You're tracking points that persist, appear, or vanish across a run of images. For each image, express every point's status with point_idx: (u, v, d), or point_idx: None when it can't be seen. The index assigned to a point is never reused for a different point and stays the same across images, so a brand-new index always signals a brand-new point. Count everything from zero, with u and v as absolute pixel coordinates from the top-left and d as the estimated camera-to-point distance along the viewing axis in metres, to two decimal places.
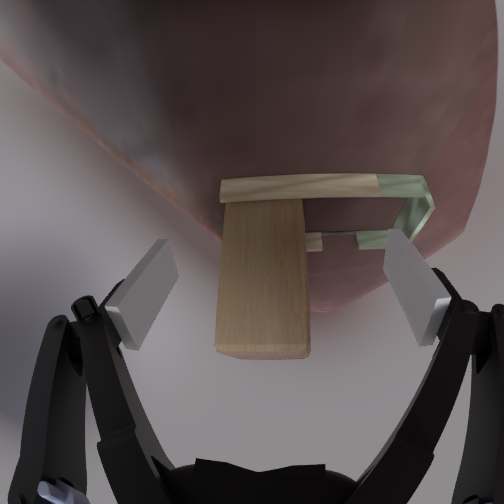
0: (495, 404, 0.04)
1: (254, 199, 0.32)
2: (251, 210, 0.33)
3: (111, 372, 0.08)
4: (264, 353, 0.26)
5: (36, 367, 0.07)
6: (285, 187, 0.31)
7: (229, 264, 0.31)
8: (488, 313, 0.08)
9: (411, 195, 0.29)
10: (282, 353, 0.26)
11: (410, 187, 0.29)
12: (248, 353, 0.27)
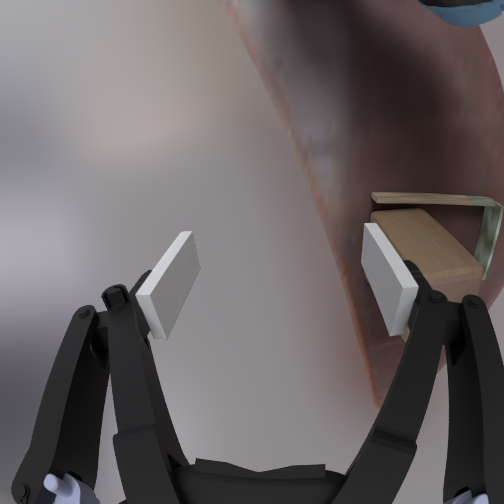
0: (476, 396, 0.05)
1: (401, 201, 0.36)
2: (396, 214, 0.37)
3: (137, 364, 0.08)
4: (458, 278, 0.23)
5: (57, 357, 0.08)
6: (418, 196, 0.37)
7: (399, 235, 0.32)
8: (458, 304, 0.09)
9: (488, 204, 0.34)
10: (470, 276, 0.23)
11: (485, 200, 0.34)
12: (446, 280, 0.23)
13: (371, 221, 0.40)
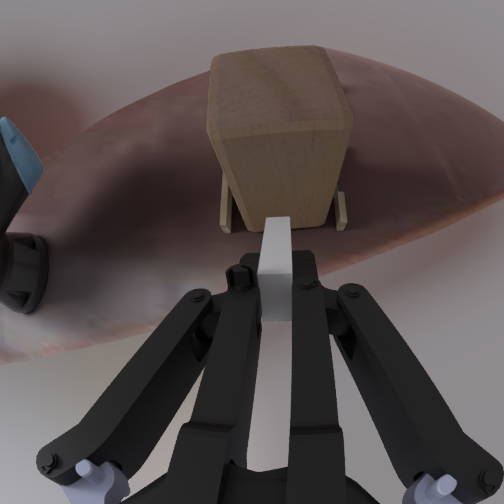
0: (389, 388, 0.06)
1: (225, 194, 0.33)
2: None
3: (240, 356, 0.08)
4: (214, 80, 0.17)
5: (149, 340, 0.09)
6: None
7: None
8: (335, 298, 0.11)
9: None
10: (215, 67, 0.18)
11: None
12: (214, 94, 0.17)
13: (256, 229, 0.33)
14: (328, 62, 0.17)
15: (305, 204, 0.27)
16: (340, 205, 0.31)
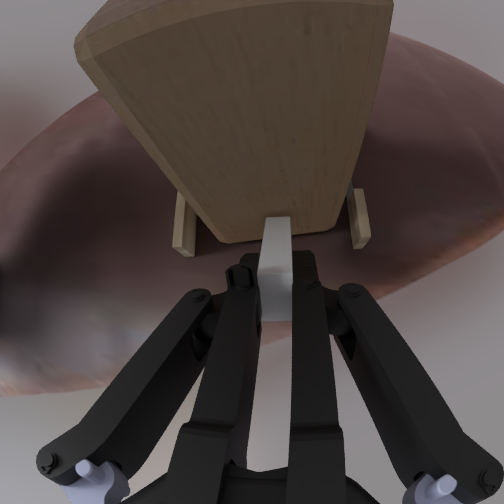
0: (389, 388, 0.06)
1: (182, 199, 0.22)
2: None
3: (240, 356, 0.08)
4: None
5: (149, 340, 0.09)
6: None
7: None
8: (336, 298, 0.11)
9: None
10: None
11: None
12: None
13: (230, 240, 0.22)
14: None
15: (304, 194, 0.15)
16: (359, 210, 0.19)
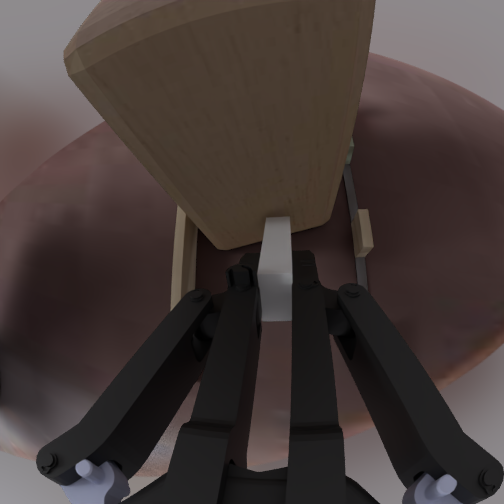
0: (389, 388, 0.06)
1: None
2: None
3: (240, 356, 0.08)
4: None
5: (149, 340, 0.09)
6: None
7: None
8: (335, 298, 0.11)
9: None
10: None
11: None
12: (91, 13, 0.06)
13: (229, 246, 0.22)
14: None
15: (299, 190, 0.15)
16: None
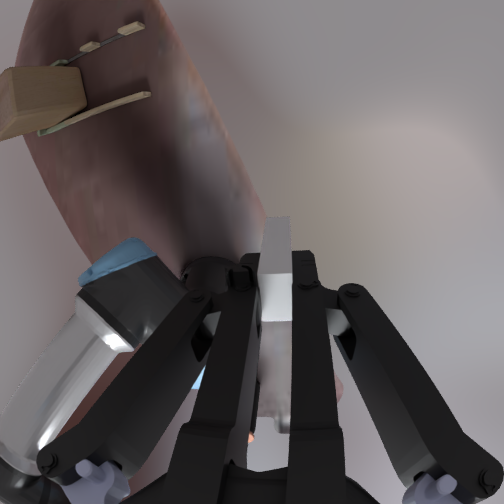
0: (388, 388, 0.06)
1: (123, 99, 0.37)
2: (67, 115, 0.39)
3: (240, 356, 0.08)
4: None
5: (149, 340, 0.09)
6: (109, 107, 0.39)
7: (50, 114, 0.32)
8: (335, 298, 0.11)
9: (51, 129, 0.40)
10: None
11: (54, 130, 0.41)
12: (2, 126, 0.24)
13: (83, 100, 0.39)
14: None
15: (58, 77, 0.31)
16: (126, 28, 0.31)
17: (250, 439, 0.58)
